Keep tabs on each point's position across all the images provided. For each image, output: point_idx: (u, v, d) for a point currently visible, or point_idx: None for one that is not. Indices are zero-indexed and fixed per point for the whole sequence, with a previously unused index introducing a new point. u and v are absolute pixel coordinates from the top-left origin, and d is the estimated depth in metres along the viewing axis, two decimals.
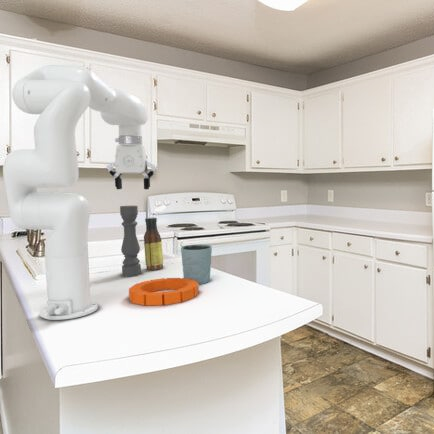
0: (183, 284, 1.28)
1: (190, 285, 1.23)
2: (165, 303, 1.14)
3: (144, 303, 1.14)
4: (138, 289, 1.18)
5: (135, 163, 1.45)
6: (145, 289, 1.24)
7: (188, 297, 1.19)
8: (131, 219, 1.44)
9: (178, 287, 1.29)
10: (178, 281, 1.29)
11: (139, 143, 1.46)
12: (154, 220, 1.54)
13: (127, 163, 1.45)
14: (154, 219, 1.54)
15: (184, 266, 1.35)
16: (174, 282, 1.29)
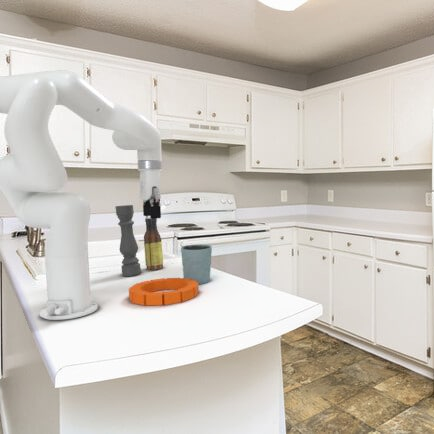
0: (183, 284, 1.28)
1: (190, 285, 1.23)
2: (165, 303, 1.14)
3: (144, 303, 1.14)
4: (138, 289, 1.18)
5: (143, 190, 1.34)
6: (145, 289, 1.24)
7: (188, 297, 1.19)
8: (127, 219, 1.44)
9: (178, 287, 1.29)
10: (178, 281, 1.29)
11: (148, 168, 1.33)
12: (154, 220, 1.54)
13: (141, 189, 1.36)
14: (154, 219, 1.54)
15: (184, 266, 1.35)
16: (174, 282, 1.29)
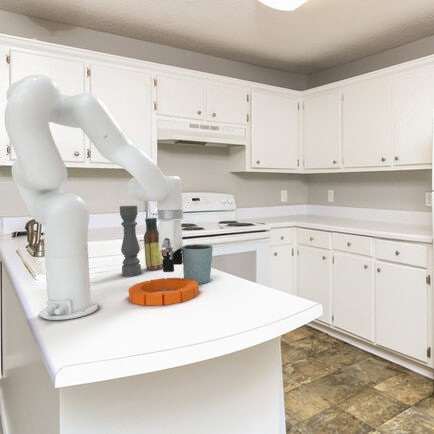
0: (183, 284, 1.28)
1: (190, 285, 1.23)
2: (165, 303, 1.14)
3: (144, 303, 1.14)
4: (138, 289, 1.18)
5: None
6: (145, 289, 1.24)
7: (188, 297, 1.19)
8: (130, 219, 1.44)
9: (178, 287, 1.29)
10: (178, 281, 1.29)
11: (162, 218, 1.25)
12: (154, 220, 1.54)
13: None
14: (154, 219, 1.54)
15: (185, 265, 1.35)
16: (174, 282, 1.29)
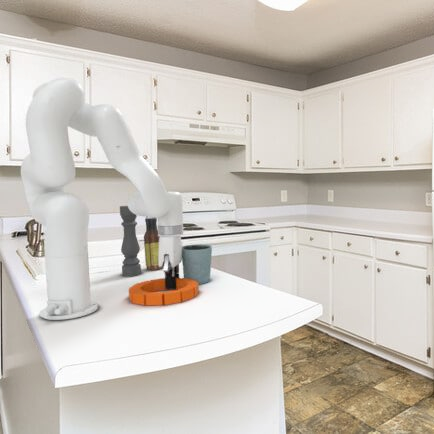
0: (183, 284, 1.28)
1: (190, 285, 1.23)
2: (165, 303, 1.14)
3: (144, 303, 1.14)
4: (138, 289, 1.18)
5: None
6: (145, 289, 1.24)
7: (188, 297, 1.19)
8: (130, 219, 1.44)
9: (178, 287, 1.29)
10: (178, 281, 1.29)
11: (162, 234, 1.25)
12: (154, 220, 1.54)
13: None
14: (154, 219, 1.54)
15: (184, 266, 1.35)
16: None
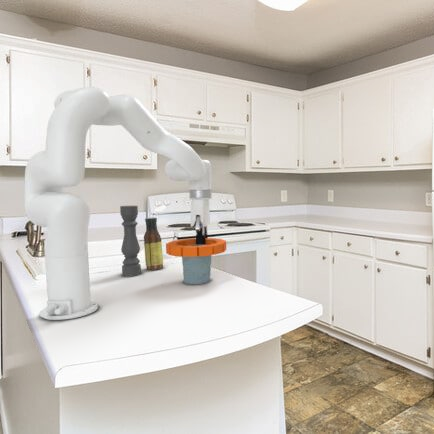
0: (212, 242, 1.43)
1: (219, 242, 1.38)
2: (199, 255, 1.29)
3: (181, 255, 1.29)
4: (174, 244, 1.34)
5: None
6: None
7: (219, 251, 1.34)
8: (131, 219, 1.44)
9: None
10: (207, 240, 1.44)
11: (194, 197, 1.41)
12: (154, 220, 1.54)
13: None
14: (154, 219, 1.54)
15: (184, 266, 1.35)
16: None
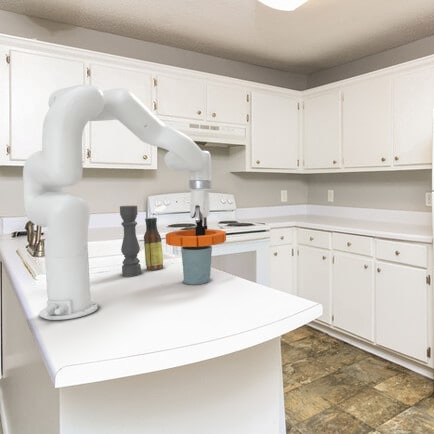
0: (212, 233, 1.43)
1: (219, 232, 1.38)
2: (199, 245, 1.29)
3: (181, 245, 1.29)
4: (174, 234, 1.33)
5: None
6: None
7: (219, 241, 1.34)
8: (130, 219, 1.44)
9: None
10: (207, 231, 1.44)
11: (194, 187, 1.40)
12: (154, 220, 1.54)
13: None
14: (154, 219, 1.54)
15: (184, 266, 1.35)
16: None
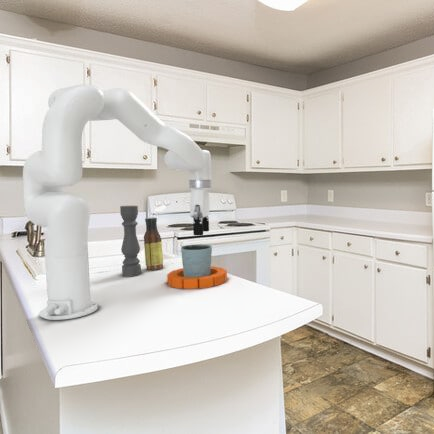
0: (213, 271, 1.45)
1: (220, 272, 1.40)
2: (200, 287, 1.31)
3: (182, 287, 1.30)
4: (175, 275, 1.35)
5: None
6: (180, 275, 1.41)
7: (219, 282, 1.36)
8: (131, 219, 1.44)
9: None
10: None
11: (194, 187, 1.40)
12: (154, 220, 1.54)
13: None
14: (154, 219, 1.54)
15: (184, 266, 1.35)
16: None
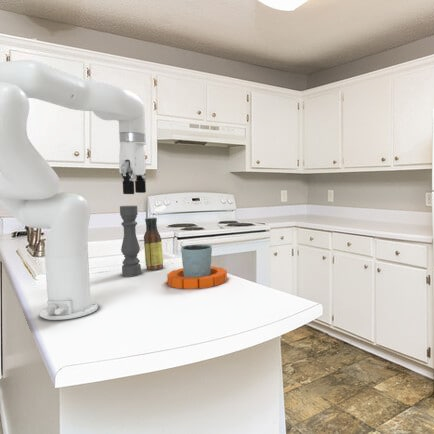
0: (213, 271, 1.45)
1: (220, 272, 1.40)
2: (200, 287, 1.31)
3: (182, 287, 1.30)
4: (175, 275, 1.35)
5: None
6: (180, 275, 1.41)
7: (219, 282, 1.36)
8: (130, 219, 1.44)
9: None
10: None
11: (123, 140, 1.25)
12: (154, 220, 1.54)
13: None
14: (154, 219, 1.54)
15: (184, 266, 1.35)
16: None
